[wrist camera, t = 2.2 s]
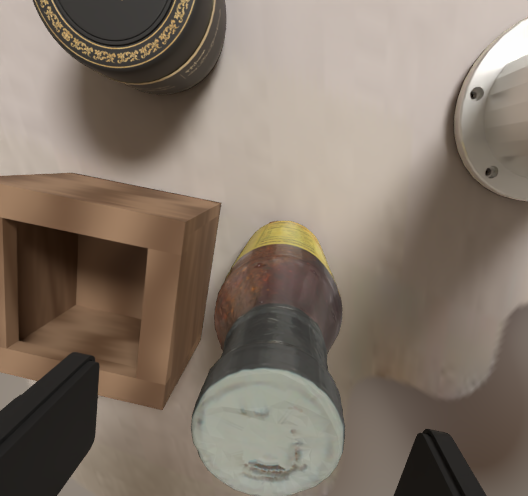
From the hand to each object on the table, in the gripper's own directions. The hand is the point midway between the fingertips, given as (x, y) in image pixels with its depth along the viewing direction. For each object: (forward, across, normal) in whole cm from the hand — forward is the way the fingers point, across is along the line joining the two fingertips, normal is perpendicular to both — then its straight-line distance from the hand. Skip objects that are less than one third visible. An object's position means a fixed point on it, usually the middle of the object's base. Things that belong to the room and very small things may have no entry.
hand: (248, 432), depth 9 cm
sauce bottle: (+19, -1, 0) cm, 19 cm away
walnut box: (+19, +12, +3) cm, 23 cm away
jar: (+19, +11, -16) cm, 27 cm away
